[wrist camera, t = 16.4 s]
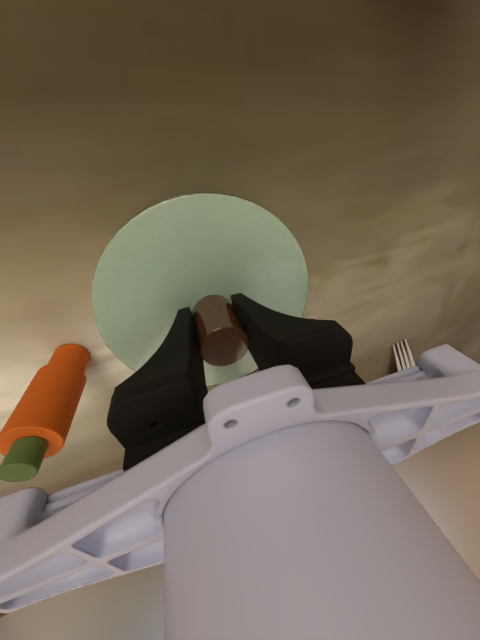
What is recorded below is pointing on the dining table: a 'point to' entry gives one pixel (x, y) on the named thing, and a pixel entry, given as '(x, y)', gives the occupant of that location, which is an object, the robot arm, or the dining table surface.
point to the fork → (404, 356)
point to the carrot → (43, 414)
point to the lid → (196, 278)
